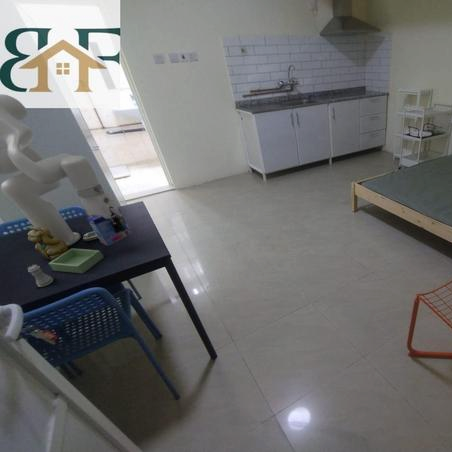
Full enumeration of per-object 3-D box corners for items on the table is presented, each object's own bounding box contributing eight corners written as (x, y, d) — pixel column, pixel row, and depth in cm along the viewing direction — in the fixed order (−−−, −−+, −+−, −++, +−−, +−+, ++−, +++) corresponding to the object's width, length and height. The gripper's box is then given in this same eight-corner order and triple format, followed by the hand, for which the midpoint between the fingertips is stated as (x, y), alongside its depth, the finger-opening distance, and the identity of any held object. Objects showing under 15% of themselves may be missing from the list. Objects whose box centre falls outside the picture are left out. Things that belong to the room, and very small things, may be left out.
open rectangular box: (53, 270, 108) (48, 263, 106) (76, 255, 116) (71, 248, 114) (82, 273, 106) (77, 266, 104) (104, 257, 114) (99, 250, 112)
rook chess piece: (35, 286, 101) (20, 269, 97) (49, 277, 105) (36, 261, 100) (42, 288, 100) (28, 272, 95) (56, 280, 103) (43, 264, 99)
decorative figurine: (39, 259, 115) (15, 229, 107) (61, 247, 121) (39, 218, 113) (56, 262, 112) (31, 232, 104) (76, 250, 119) (55, 220, 110)
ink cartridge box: (108, 246, 110) (89, 215, 102) (100, 243, 112) (81, 212, 105) (132, 233, 118) (116, 203, 110) (125, 230, 120) (108, 200, 112)
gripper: (118, 187, 105) (138, 226, 115) (79, 184, 108) (102, 223, 117) (101, 196, 99) (123, 237, 109) (61, 193, 101) (86, 233, 111)
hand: (112, 229), depth 113 cm, fingers closed on ink cartridge box, 6 cm apart
